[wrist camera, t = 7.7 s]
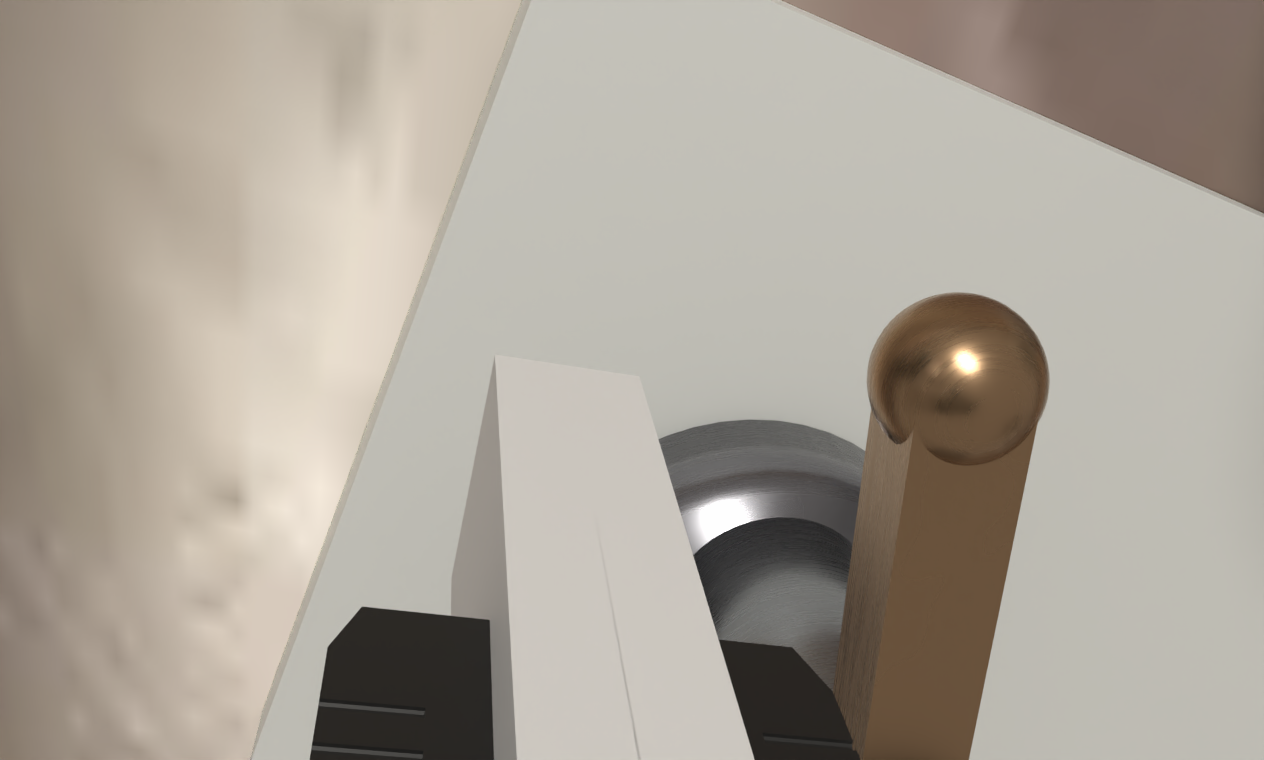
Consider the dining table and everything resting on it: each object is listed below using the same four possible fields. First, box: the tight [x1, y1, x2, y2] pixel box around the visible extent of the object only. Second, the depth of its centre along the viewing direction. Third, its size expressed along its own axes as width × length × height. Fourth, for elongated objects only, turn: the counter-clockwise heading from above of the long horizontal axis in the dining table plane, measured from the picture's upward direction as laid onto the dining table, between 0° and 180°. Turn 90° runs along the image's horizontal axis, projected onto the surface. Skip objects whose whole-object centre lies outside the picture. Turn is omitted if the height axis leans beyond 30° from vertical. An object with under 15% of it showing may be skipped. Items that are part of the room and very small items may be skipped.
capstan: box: [658, 292, 1050, 760], centre depth 20 cm, size 16×16×12 cm
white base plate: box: [250, 0, 1264, 760], centre depth 24 cm, size 28×20×10 cm
